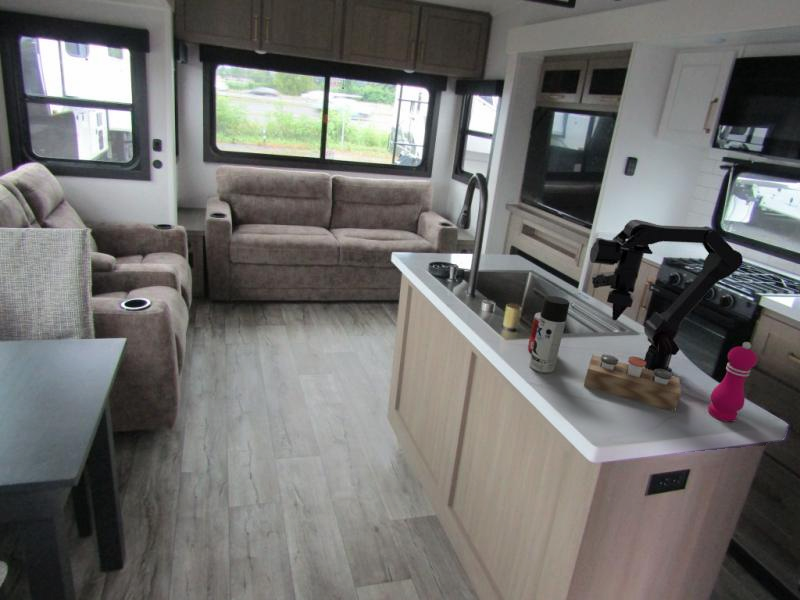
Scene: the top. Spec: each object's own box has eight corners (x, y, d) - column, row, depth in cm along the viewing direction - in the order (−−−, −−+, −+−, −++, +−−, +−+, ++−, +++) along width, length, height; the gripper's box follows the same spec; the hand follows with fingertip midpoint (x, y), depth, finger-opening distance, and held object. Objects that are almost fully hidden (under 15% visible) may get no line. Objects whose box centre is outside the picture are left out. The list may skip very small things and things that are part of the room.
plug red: (639, 382, 145) (646, 359, 143) (639, 389, 142) (646, 365, 139) (622, 378, 147) (629, 355, 145) (621, 384, 143) (628, 361, 141)
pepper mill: (724, 424, 133) (752, 350, 127) (699, 409, 140) (724, 336, 133) (744, 421, 136) (772, 347, 129) (718, 405, 142) (744, 334, 136)
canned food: (555, 360, 157) (564, 324, 154) (527, 354, 159) (535, 319, 155) (554, 349, 165) (562, 315, 161) (527, 344, 166) (534, 310, 162)
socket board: (673, 394, 145) (679, 377, 144) (674, 411, 137) (680, 394, 135) (587, 370, 153) (592, 354, 151) (583, 385, 144) (588, 368, 143)
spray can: (527, 361, 155) (541, 293, 148) (551, 363, 155) (566, 296, 148) (531, 372, 149) (546, 302, 142) (556, 375, 149) (573, 305, 142)
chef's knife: (718, 411, 141) (723, 408, 142) (719, 407, 140) (724, 404, 142) (648, 377, 155) (654, 375, 156) (649, 374, 154) (655, 371, 156)
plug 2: (664, 395, 144) (672, 371, 141) (664, 402, 140) (672, 378, 138) (647, 390, 145) (654, 367, 143) (647, 397, 141) (654, 373, 139)
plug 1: (612, 380, 148) (618, 357, 146) (611, 386, 145) (617, 363, 142) (596, 375, 150) (602, 353, 147) (594, 382, 146) (600, 359, 144)
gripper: (600, 253, 162) (588, 303, 167) (594, 268, 145) (581, 322, 151) (641, 262, 158) (627, 312, 163) (639, 277, 141) (624, 333, 147)
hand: (614, 319), depth 156 cm, fingers closed
